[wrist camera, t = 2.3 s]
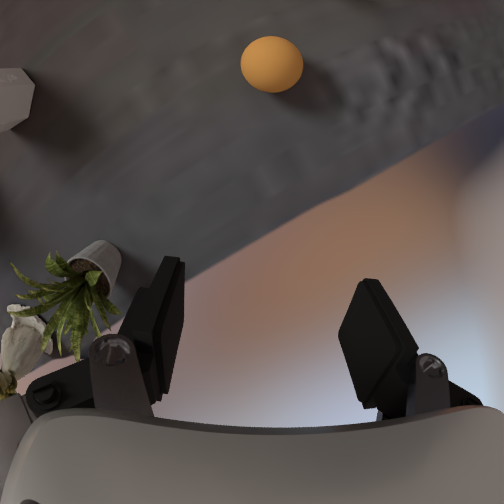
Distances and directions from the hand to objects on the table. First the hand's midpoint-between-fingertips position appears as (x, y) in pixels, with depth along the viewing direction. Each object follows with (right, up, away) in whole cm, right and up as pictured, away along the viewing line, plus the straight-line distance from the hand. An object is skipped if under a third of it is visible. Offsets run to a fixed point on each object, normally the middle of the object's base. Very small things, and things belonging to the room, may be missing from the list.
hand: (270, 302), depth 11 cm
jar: (-33, +23, +14) cm, 42 cm away
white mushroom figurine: (-45, -13, +33) cm, 57 cm away
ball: (+1, +20, +13) cm, 24 cm away
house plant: (-22, +2, +26) cm, 34 cm away
